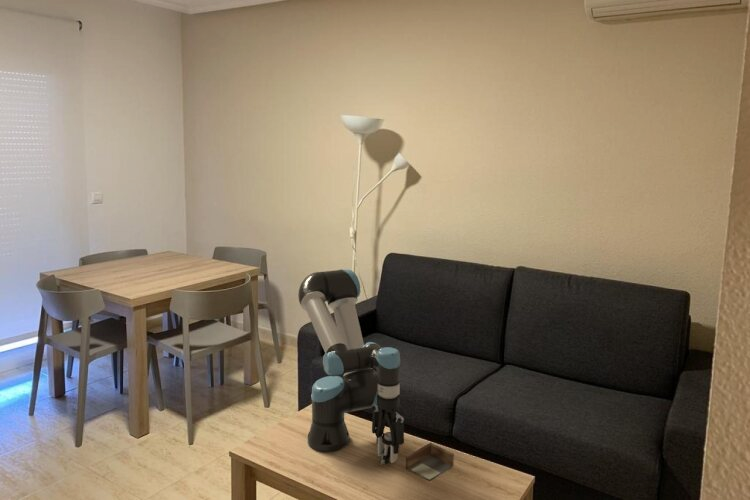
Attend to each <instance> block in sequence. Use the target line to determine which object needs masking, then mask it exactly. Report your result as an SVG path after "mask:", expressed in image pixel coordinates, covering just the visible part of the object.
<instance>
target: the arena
mask: <svg viewBox="0 0 750 500" xmlns="http://www.w3.org/2000/svg"><path fill="white" fill-rule="evenodd" d="M454 456H455V454H454V453H453V452H451V451H449V450H447V449H444V448H443V447H441V446H438V445H437V444H434V443H432V442H429V443H427V444H425V445H424V446H422V447H420V448H418V449H417V450H415V451H413V452H412V453H409V454H407V455H406V457H405V459H406V460H405V462H406V463H405V465H406V466H405V468H406V469H407V470H409V471H411V472H412V473H414V474H416V475H418V476H420V477H422V478H423V479H426V480H427V481H429V482H430V481H432V480H434V479H435V478H436V477H438V476H440V475H441V474H443V473H444V472H446V471H447V470H449V469H451V468H452V467H454V461H455V459H454V458H455V457H454Z"/></svg>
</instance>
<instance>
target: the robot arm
mask: <svg viewBox="0 0 750 500" xmlns="http://www.w3.org/2000/svg"><path fill="white" fill-rule="evenodd" d="M297 294H298V301H299V304H300V307H301V308H302V310H303V311H305V312H306V314H307V315H308V317H309V319H310V322H311V324H312V327H313V328H314V331H315V334H316V335H317V339H318V340H319V342H320V344H321V346H322V349H323V351H324V355H323V356H322V357H323V358H322V366H323V370H324V372H325V374H326V375H328V376H324V377H322V378H319V379H318V380H316V381H315V382H314V383H313V385H312V387H311V396H310V398H311V419H312V420H311V424H310V429H309V431H308V434H307V444H308V446H309V447H310V448H311V449H313V450H315V451H319V452H329V453H330V452H336V451H340V450H342V449H344V448H345V447H347V446H348V445H349V444H350V433H349V430H348V427H347V425H346V422H345V414H348V413H352V412H357V411H361V410H362V411H363V410H366V409H371V412H372V417H371V419H372V421H371V433H372V434H375V437H376V445H377V456H378V457H380V456H382V455H383V450H384V448H385V444H384V443H383V442H382V435H383V434H385V426H386V424H387V425H388V427H389V432H390V433H391V438H392V444H391V457H390V463H391V464H393V463H394V462H396V461H398V456H399V455H398V453H399V452H400V446H401V445H403V444H404V443H405V427H404V426H405V422H406V421H405V420H406V416H405V415H403V416H402V415H400V414H399V413H400V412H399V406H400V393H401V392H400V388H401V387H400V386H401V385H400V380H401V379H400V377H401V376H400V375H401V356H400V355H401V353H400V351H399V350H398V349H397V348H396V347H395V348H394V347H391V346H389V347H388V346H387V347H382V346H381V345H379V344H378V343H376V342H373V341H368V342H366V343H364V339H363V335H362V330H361V325H360V321H359V318H358V314H357V308H356V304H357V302H358V298H359V297H360V296H361V283H360V280H359V277H358V276H357V274H356V273H355V272H354V271H353V269H352V270H351V269H337V270H326V271H320V272H319V271H316V272H312V273H310V274H308V275H307V276H306V277H305V278H304V279H303V280H302V282H301V284H300V285H299V289H298V293H297ZM326 302H327V304H326ZM329 308H330V309H331V310H332V311H333V315H334V319H335V320H334V319H333V315H332V314H331V311H330V310H329ZM375 372H376V373H375ZM342 374H343V377H341V376H340V375H342Z"/></svg>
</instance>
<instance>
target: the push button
mask: <svg viewBox="0 0 750 500" xmlns="http://www.w3.org/2000/svg"><path fill="white" fill-rule="evenodd" d="M382 442H383V443H384V444H385V448H384V450H383V454H382V455H381V458H380V459H381V460H380V465H381V466H382V465H386V464H387V463H388V462H390V457H391V444H392V438H391V433H390V431H387V432H384V434H383V435H382ZM390 463H391V462H390Z"/></svg>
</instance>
